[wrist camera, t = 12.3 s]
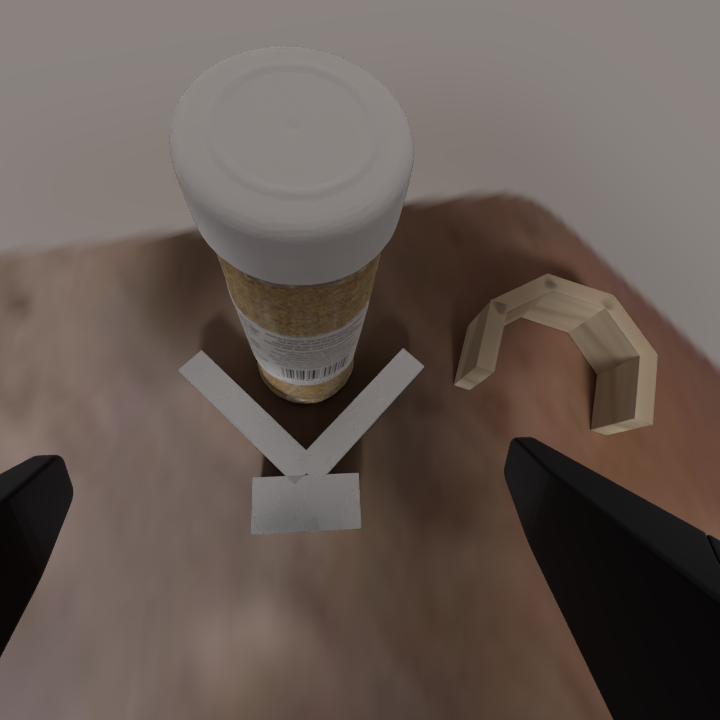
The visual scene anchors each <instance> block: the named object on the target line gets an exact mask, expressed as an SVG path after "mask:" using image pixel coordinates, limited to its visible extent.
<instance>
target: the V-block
mask: <svg viewBox="0 0 720 720" xmlns="http://www.w3.org/2000/svg"><path fill="white" fill-rule="evenodd" d="M423 368H424V366H423V365H422V364H421V363H420V362H419V361H418V360H416V359H415V358H414V357H413V356H412V355H411V354H410V353H408V352H407V351H406V350H405V349H404V348H403V349H402V350H401V351H400V352H399V353H398V354H397V355H396V356H395V357H394V358H393V359H392V360H391V361H390V362H389V364H388V365H387V366H386V367H385V368H384V369H383V370H382V371H381V372H380V373H379V374H378V375H377V376H376V377H375V378H374V379H373V380H372V381H371V383H370V384H369V385H368V386H367V387H366V388H365V389H364V390H363V391H362V392H361V393H360V394H359V395H358V396H357V397H356V398H355V399H354V400H353V402H352V403H351V404H350V405H349V406H348V407H347V408H346V409H345V410H344V411H343V412H342V413H341V414H340V415H339V416H338V417H337V418H336V419H335V421H334V422H333V423H332V424H331V425H330V426H329V427H328V428H327V429H326V430H325V431H324V432H323V433H322V434H321V435H320V436H319V437H318V438H317V440H316V441H315V442H314V443H313V444H312V445H311V446H310V447H309V448H308V449H307V450H305V449H304V448H303V447H302V446H301V445H300V444H299V443H298V442H297V441H296V440H295V439H294V438H293V437H292V436H291V435H290V434H289V433H287V432H286V431H285V430H284V429H283V428H282V427H281V426H280V425H279V424H278V423H277V422H276V421H275V420H274V419H273V418H272V417H271V416H270V415H269V414H268V413H267V412H266V411H265V410H264V409H262V408H261V407H260V406H259V405H258V404H257V403H256V402H255V401H254V400H253V399H252V398H251V397H250V396H249V395H248V394H247V393H246V392H245V391H244V390H243V389H242V388H241V387H240V386H238V385H237V384H236V383H235V382H234V381H233V380H232V379H231V378H230V377H229V376H228V375H227V374H226V373H225V372H224V371H223V370H222V369H221V368H220V367H219V366H218V365H217V364H216V363H214V362H213V361H212V360H211V359H210V358H209V357H208V356H207V355H206V354H205V353H204V352H203V351H202V350H201V351H200V352H199V353H197V354H196V355H195V356H194V357H193V358H192V359H190V360H189V361H188V362H187V363H186V364H185V365H183V366H182V367H181V368H180V369H179V370H178V371H179V372H180V373H181V374H182V375H183V376H184V377H185V378H186V379H187V380H188V381H189V382H190V383H191V384H192V385H193V386H194V387H195V388H196V389H197V390H198V391H199V392H200V393H201V394H202V395H203V396H204V397H205V398H206V399H207V400H208V401H209V402H210V403H211V404H212V405H213V406H215V407H216V408H217V409H218V410H219V411H220V412H221V413H222V414H223V415H224V416H225V417H226V418H227V419H228V420H229V421H230V422H231V423H232V424H233V425H234V426H235V427H236V428H237V429H238V430H239V431H240V432H241V433H242V434H243V435H244V436H245V437H246V438H247V439H248V440H249V441H250V442H251V443H252V444H253V445H254V446H255V447H256V448H257V449H258V450H259V451H260V452H261V453H263V454H264V455H265V456H266V457H267V458H268V459H269V460H270V461H271V462H272V463H273V464H274V465H275V466H276V467H277V468H278V469H279V470H280V471H281V472H282V473H283V474H284V475H285V476H277V477H255V478H253V483H252V520H251V535H260V534H277V533H293V532H310V531H327V530H343V529H360V528H361V511H360V490H359V473H345V474H329V473H330V472H331V470H332V469H333V468H334V467H335V466H336V465H337V464H338V463H339V462H340V461H341V459H342V458H343V457H344V456H345V455H346V454H347V453H348V452H349V451H350V449H351V448H352V447H353V446H354V445H355V444H356V443H357V442H358V441H359V440H360V438H361V437H362V436H363V435H364V434H365V433H366V432H367V431H368V430H369V428H370V427H371V426H372V425H373V424H374V423H375V422H376V421H377V420H378V419H379V417H380V416H381V415H382V414H383V413H384V412H385V411H386V410H387V409H388V408H389V406H390V405H391V404H392V403H393V402H394V401H395V400H396V399H397V398H398V396H399V395H400V394H401V393H402V392H403V391H404V390H405V389H406V388H407V387H408V385H409V384H410V383H411V382H412V381H413V380H414V379H415V377H416V376H417V375H418V374H419V372H420V371H421V370H422V369H423Z"/></svg>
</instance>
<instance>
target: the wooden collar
mask: <svg viewBox="0 0 720 720" xmlns="http://www.w3.org/2000/svg"><path fill="white" fill-rule="evenodd" d="M521 317H522V318H525V319H528V320H531V321H534V322H537V323H540V324H543V325H546V326H549V327H552V328H555V329H558V330H561V331H565V332H568V333H569V335H570V336H571V338H572V339H573V341H574V342H575V344H576V345H577V346H578V348H579V349H580V351H581V352H582V354H583V355H584V357H585V358H586V360H587V361H588V362H589V364H590V365H591V367H592V368H593V370H594V371H595V373H596V374H597V381H596V390H595V398H594V406H593V415H592V423H591V430H592V431H595V432H598V433H601V434H604V435H609V434H614V433H618V432H622V431H627V430H631V429H635V428H640V427H644V426H648V425H653V414H654V400H655V385H656V371H657V356H658V354H657V353H656V352H655V351H654V349H653V348H652V347H651V345H650V344H649V343H648V341H647V340H646V338H645V337H644V336H643V334H642V333H641V332H640V330H639V329H638V328H637V326H636V325H635V324H634V322H633V321H632V319H631V318H630V317H629V315H628V314H627V313H626V311H625V310H624V309H623V307H622V306H621V304H620V303H619V302H618V300H617V299H616V298H615V296H614V295H611V294H608V293H605V292H602V291H599V290H596V289H593V288H590V287H587V286H584V285H581V284H578V283H575V282H572V281H569V280H566V279H563V278H560V277H557V276H554V275H551V274H548V273H547V274H545V275H543V276H541V277H539V278H537V279H535V280H533V281H530V282H528V283H526V284H524V285H522V286H520V287H518V288H516V289H514V290H511V291H509V292H507V293H505V294H503V295H501V296H499V297H497V298H494V299H491V300H490V301H489V303H488V304H487V305H486V306H485V307H484V308H483V309H482V310H481V312H480V313H479V314H478V315H477V316H476V317H475V318H474V319H473V321H472V322H471V323H470V324H469V325H468V326H467V327H468V328H467V332H466V336H465V340H464V344H463V348H462V353H461V357H460V361H459V365H458V369H457V373H456V378H455V382H454V385H455V386H458V387H461V388H464V389H467V390H470V389H472V388H473V387H475V386H476V385H477V384H479V383H480V382H482V381H483V380H484V379H486V378H487V377H489V376H490V375H491V374H493V373H494V372H495V367H496V362H497V357H498V352H499V348H500V343H501V338H502V333H503V328H504V326H505V325H507V324H509V323H511V322H513V321H515V320H517V319H519V318H521Z"/></svg>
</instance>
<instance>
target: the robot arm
mask: <svg viewBox="0 0 720 720" xmlns="http://www.w3.org/2000/svg"><path fill="white" fill-rule="evenodd" d="M504 475H505V479H506V482H507V485H508V488H509V491H510V494H511V496H512V499H513V502H514V505H515V508H516V510H517V513H518V516H519V519H520V522H521V524H522V527H523V530H524V533H525V535H526V538H527V540H528V543H529V545H530V547H531V550H532V552H533V554H534V556H535V558H536V560H537V562H538V564H539V566H540V569H541V571H542V573H543V575H544V577H545V579H546V581H547V583H548V585H549V587H550V589H551V591H552V593H553V596H554V598H555V600H556V602H557V604H558V606H559V608H560V610H561V612H562V614H563V616H564V618H565V620H566V622H567V625H568V627H569V629H570V631H571V633H572V635H573V637H574V639H575V641H576V643H577V645H578V647H579V649H580V652H581V654H582V656H583V658H584V660H585V662H586V664H587V666H588V668H589V670H590V672H591V674H592V676H593V678H594V681H595V683H596V685H597V687H598V689H599V691H600V693H601V695H602V697H603V699H604V701H605V703H606V705H607V707H608V710H609V712H610V714H611V716H612V718H613V720H720V540H718V539H716V538H714V537H712V536H711V535H707V536H706V534H705V532H703V531H701V530H700V529H698V528H696V527H694V526H692V525H690V524H689V523H687V522H685V521H683V520H681V519H680V518H678V517H676V516H674V515H672V514H671V513H669V512H667V511H665V510H663V509H661V508H660V507H658V506H656V505H654V504H652V503H651V502H649V501H647V500H645V499H643V498H642V497H640V496H638V495H636V494H634V493H632V492H631V491H629V490H627V489H625V488H623V487H622V486H620V485H618V484H616V483H614V482H613V481H611V480H609V479H607V478H605V477H603V476H602V475H600V474H598V473H596V472H594V471H593V470H591V469H589V468H587V467H585V466H584V465H582V464H580V463H578V462H576V461H574V460H573V459H571V458H569V457H567V456H565V455H564V454H562V453H560V452H558V451H556V450H555V449H553V448H551V447H549V446H547V445H545V444H544V443H542V442H540V441H538V440H536V439H535V438H532V437H518V438H514V439H512V441H511V443H510V446H509V450H508V454H507V459H506V463H505V468H504ZM72 498H73V487H72V483H71V480H70V477H69V474H68V471H67V468H66V465H65V462H64V460H63V458H62V457H61V456H58V455H39V456H34V457H32V458H30V459H28V460H26V461H24V462H22V463H20V464H19V465H17V466H15V467H13V468H11V469H9V470H7V471H5V472H4V473H2V474H0V657H1V655H2V653H3V651H4V649H5V647H6V645H7V643H8V642H9V640H10V638H11V636H12V634H13V632H14V630H15V628H16V626H17V624H18V622H19V620H20V618H21V616H22V615H23V613H24V611H25V609H26V607H27V605H28V603H29V601H30V599H31V597H32V595H33V593H34V591H35V589H36V587H37V585H38V583H39V581H40V579H41V577H42V575H43V572H44V570H45V568H46V565H47V563H48V561H49V558H50V555H51V553H52V550H53V548H54V545H55V543H56V540H57V538H58V535H59V532H60V530H61V527H62V525H63V522H64V520H65V517H66V515H67V512H68V510H69V507H70V504H71V502H72Z"/></svg>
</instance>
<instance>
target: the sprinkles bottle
mask: <svg viewBox="0 0 720 720" xmlns="http://www.w3.org/2000/svg"><path fill="white" fill-rule="evenodd" d="M169 144H170V154H171V159H172V163H173V167H174V170H175V173H176V176H177V179H178V181H179V184H180V186H181V189H182V192H183V194H184V197H185V200H186V202H187V205H188V207H189V209H190V212H191V214H192V216H193V219H194V221H195V223H196V225H197V228H198V230H199V232H200V233H201V235H202V237H203V238H204V239H205V241H206V242H207V243H208V245H209V246H210V247H211V248H212V249H213V250H214V251H215V252H216V253H217V257H218V259H219V262H220V264H221V267H222V271H223V273H224V276H225V278H226V283H227V287H228V291H229V293H230V296H231V299H232V301H233V304H234V306H235V308H236V311H237V313H238V316H239V319H240V321H241V324H242V326H243V329H244V332H245V334H246V337H247V339H248V342H249V344H250V347H251V349H252V352H253V354H254V356H255V358H256V360H257V365H258V370H259V373H260V375H261V378H262V380H263V382H264V383H265V384H266V385H267V386H268V387H269V389H270V390H271V391H272V392H273V393H275V394H276V395H278V396H279V397H281V398H283V399H285V400H287V401H290V402H293V403H303V404H308V403H317V402H321V401H323V400H325V399H327V398H330V397H331V396H333V395H335V394H336V393H337V392H338V391H339V390H340V389H341V388H342V387H343V386H344V385H345V384H346V382H347V380H348V378H349V377H350V375H351V372H352V369H353V364H354V353H355V350H356V347H357V343H358V340H359V337H360V333H361V330H362V327H363V323H364V319H365V316H366V313H367V309H368V305H369V300H370V297H371V293H372V288H373V285H374V280H375V275H376V272H377V268H378V265H379V260H380V257H381V252H382V250H383V248H384V247H385V246H386V244H387V243H388V242H389V241H390V239H391V237H392V235H393V233H394V231H395V229H396V227H397V224H398V221H399V218H400V214H401V211H402V207H403V204H404V200H405V197H406V193H407V189H408V185H409V181H410V176H411V171H412V166H413V156H414V148H413V138H412V133H411V129H410V125H409V122H408V120H407V118H406V115H405V113H404V111H403V109H402V107H401V105H400V104H399V102H398V101H397V99H396V98H395V97H394V95H393V94H392V93H391V92H390V90H389V89H388V88H387V87H386V86H385V85H384V84H383V83H382V82H381V81H379V80H378V79H377V78H376V77H375V76H373V75H372V74H371V73H369V72H368V71H366V70H365V69H363V68H362V67H360V66H358V65H356V64H354V63H353V62H351V61H349V60H346V59H344V58H341V57H339V56H336V55H333V54H330V53H327V52H323V51H320V50H314V49H309V48H304V47H293V46H280V47H266V48H261V49H255V50H250V51H246V52H242V53H239V54H236V55H234V56H232V57H229V58H227V59H224V60H222V61H220V62H219V63H217V64H215V65H213V66H212V67H211V68H209V69H208V70H206V71H205V72H204V73H203V74H201V75H200V76H199V77H198V78H197V79H196V80H195V81H194V82H193V83H192V84H191V85H190V86H189V87H188V89H187V90H186V91H185V93H184V94H183V95H182V97H181V99H180V101H179V102H178V105H177V107H176V110H175V112H174V115H173V118H172V122H171V128H170V134H169Z"/></svg>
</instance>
